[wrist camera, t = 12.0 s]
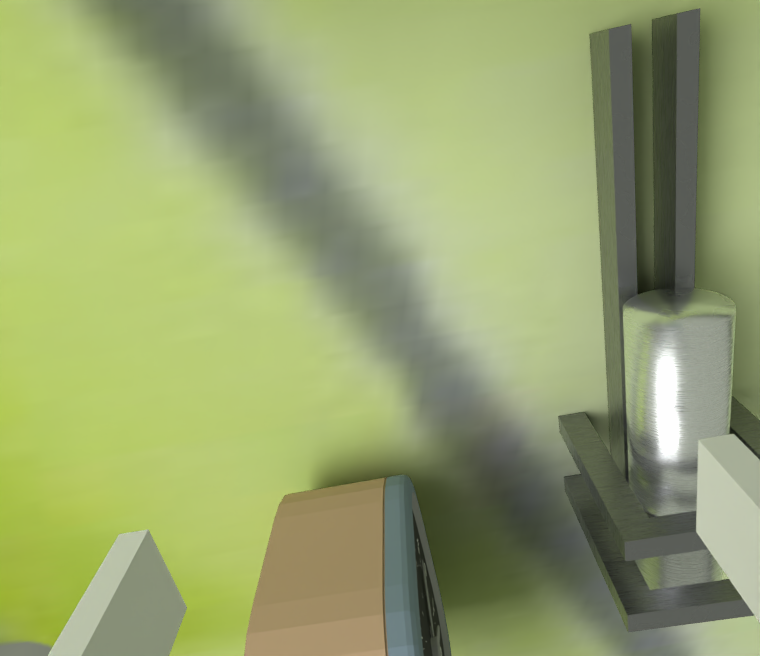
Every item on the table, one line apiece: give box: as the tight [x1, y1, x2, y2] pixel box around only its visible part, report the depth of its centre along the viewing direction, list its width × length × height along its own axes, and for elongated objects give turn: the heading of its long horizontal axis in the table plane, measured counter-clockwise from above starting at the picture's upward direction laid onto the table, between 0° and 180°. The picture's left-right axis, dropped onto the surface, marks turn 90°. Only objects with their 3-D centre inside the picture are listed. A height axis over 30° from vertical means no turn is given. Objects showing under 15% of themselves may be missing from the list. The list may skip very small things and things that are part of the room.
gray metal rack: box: [558, 8, 760, 632], centre depth 34 cm, size 39×12×13 cm, turn 12°
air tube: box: [623, 288, 736, 590], centre depth 38 cm, size 22×6×6 cm, turn 12°
